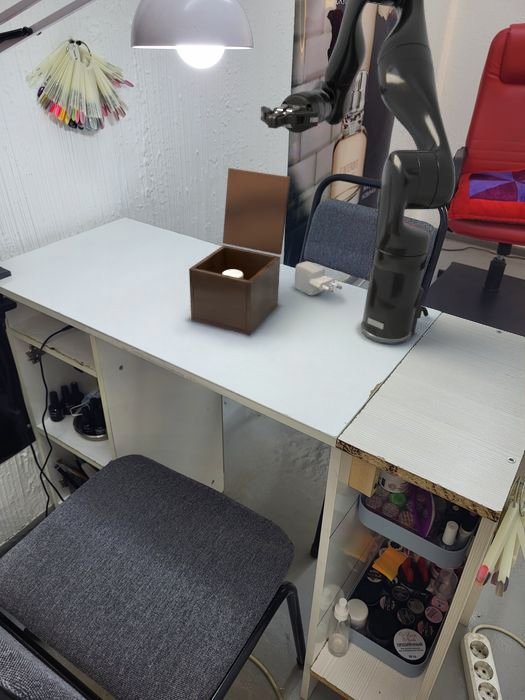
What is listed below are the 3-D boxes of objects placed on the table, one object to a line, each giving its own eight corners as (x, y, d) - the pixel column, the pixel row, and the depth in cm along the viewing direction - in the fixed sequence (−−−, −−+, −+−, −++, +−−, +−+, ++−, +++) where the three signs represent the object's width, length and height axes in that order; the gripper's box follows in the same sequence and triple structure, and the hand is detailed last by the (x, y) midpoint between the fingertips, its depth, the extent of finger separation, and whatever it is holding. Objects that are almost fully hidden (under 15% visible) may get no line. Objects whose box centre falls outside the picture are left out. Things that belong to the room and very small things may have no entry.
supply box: (249, 335, 97) (251, 282, 91) (191, 320, 101) (188, 268, 96) (277, 305, 108) (280, 256, 102) (223, 292, 112) (223, 245, 106)
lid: (289, 177, 96) (290, 176, 96) (228, 168, 100) (230, 167, 101) (279, 254, 101) (281, 254, 102) (222, 243, 106) (224, 242, 106)
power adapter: (343, 301, 111) (346, 275, 107) (327, 307, 108) (330, 281, 105) (306, 283, 118) (308, 258, 115) (290, 288, 115) (292, 263, 112)
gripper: (276, 89, 111) (240, 97, 98) (335, 94, 107) (306, 103, 94) (274, 126, 115) (239, 139, 102) (331, 133, 111) (303, 147, 98)
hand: (271, 122), depth 98 cm, fingers closed
